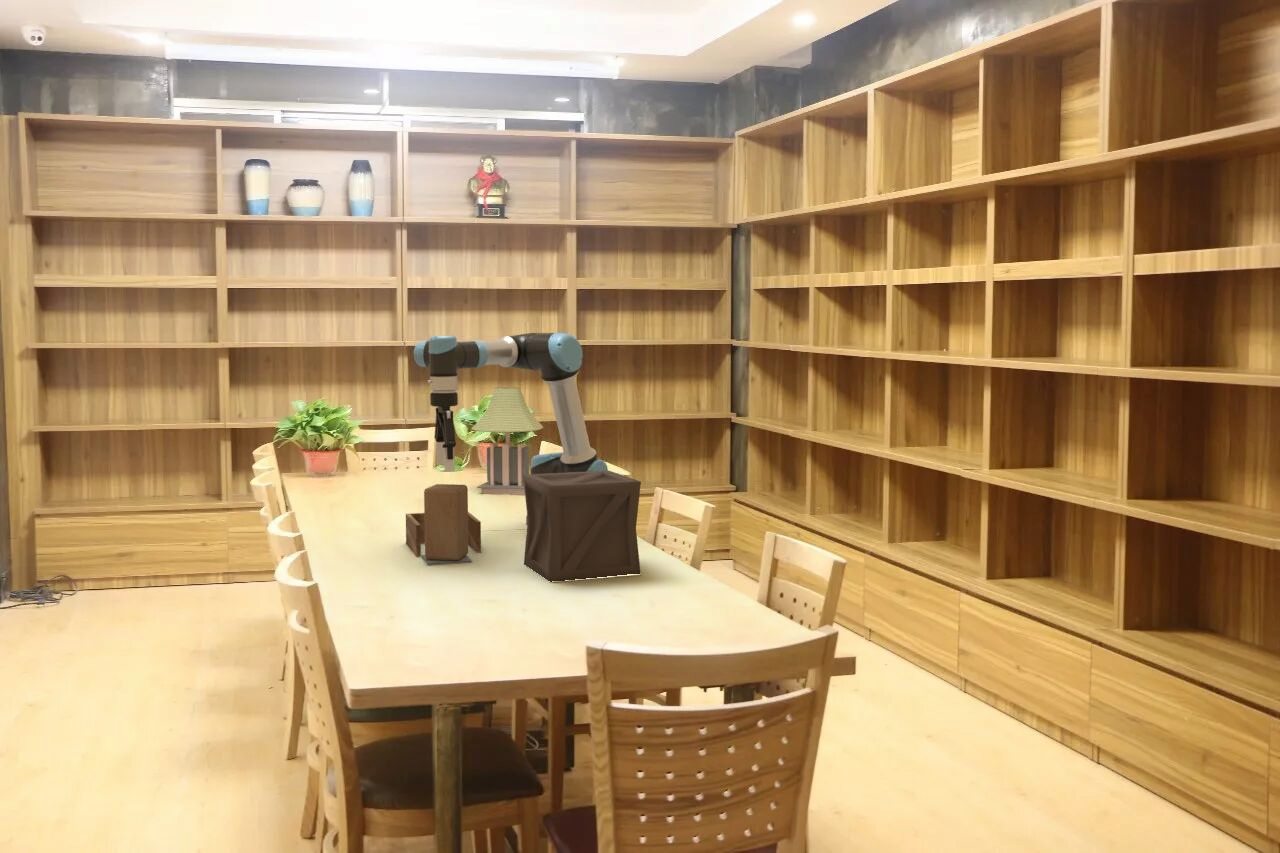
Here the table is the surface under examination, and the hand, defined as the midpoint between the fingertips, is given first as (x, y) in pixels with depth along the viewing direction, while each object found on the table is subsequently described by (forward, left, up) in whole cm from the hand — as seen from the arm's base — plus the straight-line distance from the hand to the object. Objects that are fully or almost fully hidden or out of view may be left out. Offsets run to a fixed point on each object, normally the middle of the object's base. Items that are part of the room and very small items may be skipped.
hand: (445, 468), depth 347 cm
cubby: (-2, -17, -26) cm, 31 cm away
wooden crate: (-32, +25, -26) cm, 48 cm away
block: (0, 0, -25) cm, 25 cm away
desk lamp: (-45, -125, -26) cm, 135 cm away
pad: (0, 0, -26) cm, 26 cm away
